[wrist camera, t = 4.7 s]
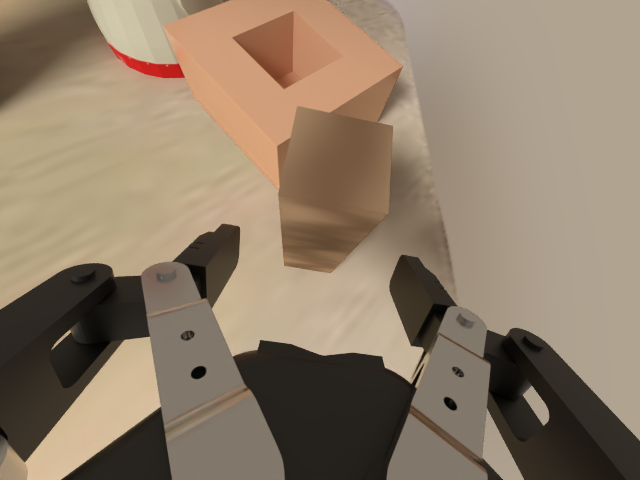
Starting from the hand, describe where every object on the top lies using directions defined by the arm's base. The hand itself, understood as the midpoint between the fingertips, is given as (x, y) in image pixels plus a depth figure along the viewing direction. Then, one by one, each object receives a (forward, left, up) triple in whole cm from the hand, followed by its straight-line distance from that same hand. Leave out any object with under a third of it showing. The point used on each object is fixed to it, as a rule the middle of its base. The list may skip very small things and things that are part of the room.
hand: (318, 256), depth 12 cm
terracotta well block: (-16, +12, -11) cm, 23 cm away
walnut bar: (-2, +3, -11) cm, 11 cm away
